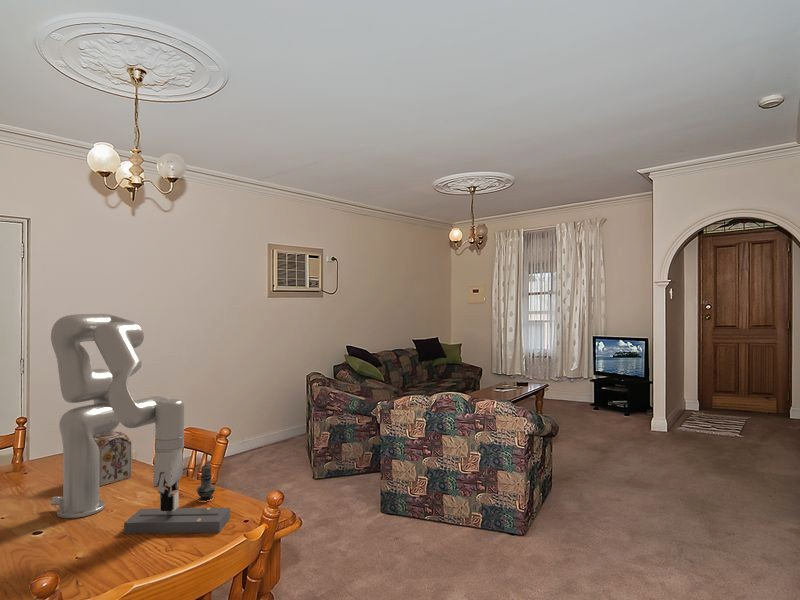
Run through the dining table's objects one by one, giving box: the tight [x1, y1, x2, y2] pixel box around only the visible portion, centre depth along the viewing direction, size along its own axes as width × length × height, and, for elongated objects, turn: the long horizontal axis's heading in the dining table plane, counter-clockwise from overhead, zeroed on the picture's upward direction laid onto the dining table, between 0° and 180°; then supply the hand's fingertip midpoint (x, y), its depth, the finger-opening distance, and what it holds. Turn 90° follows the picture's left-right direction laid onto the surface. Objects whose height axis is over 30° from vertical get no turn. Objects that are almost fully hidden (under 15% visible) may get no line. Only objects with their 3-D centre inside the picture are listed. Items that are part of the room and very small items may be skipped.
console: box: [123, 507, 231, 535], centre depth 150 cm, size 26×10×3 cm, turn 92°
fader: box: [159, 489, 180, 515], centre depth 150 cm, size 4×3×6 cm
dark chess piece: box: [196, 462, 216, 501], centre depth 170 cm, size 6×6×12 cm
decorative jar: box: [93, 428, 133, 487], centre depth 189 cm, size 12×12×18 cm
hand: (169, 507), depth 149 cm, fingers closed on fader, 3 cm apart
